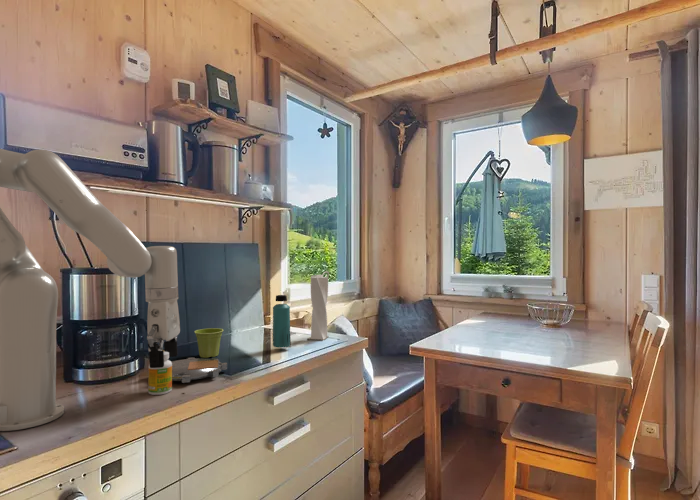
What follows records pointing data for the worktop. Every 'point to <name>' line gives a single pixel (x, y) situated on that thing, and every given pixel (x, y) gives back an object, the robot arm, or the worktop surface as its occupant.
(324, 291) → the skyscraper
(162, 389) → the supplement bottle
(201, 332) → the plant pot
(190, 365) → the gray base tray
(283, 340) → the beverage bottle
